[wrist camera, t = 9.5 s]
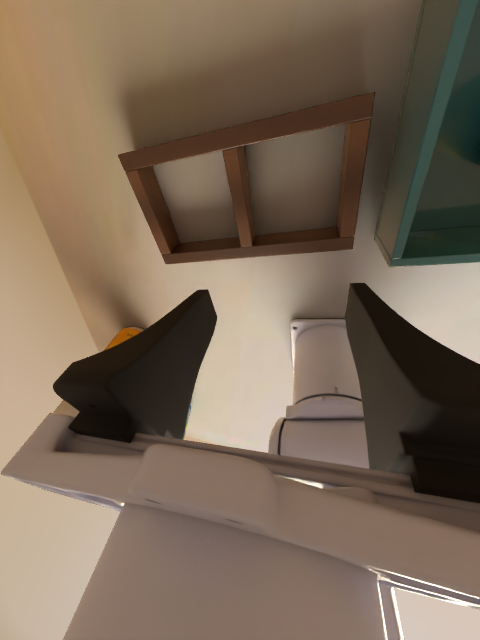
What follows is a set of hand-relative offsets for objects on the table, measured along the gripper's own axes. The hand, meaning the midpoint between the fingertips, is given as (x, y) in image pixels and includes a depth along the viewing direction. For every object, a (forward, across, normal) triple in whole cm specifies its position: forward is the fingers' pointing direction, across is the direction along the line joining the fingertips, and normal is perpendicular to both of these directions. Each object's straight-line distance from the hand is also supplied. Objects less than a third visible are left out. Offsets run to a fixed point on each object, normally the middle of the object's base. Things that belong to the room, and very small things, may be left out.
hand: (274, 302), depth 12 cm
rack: (+10, +3, -3) cm, 11 cm away
